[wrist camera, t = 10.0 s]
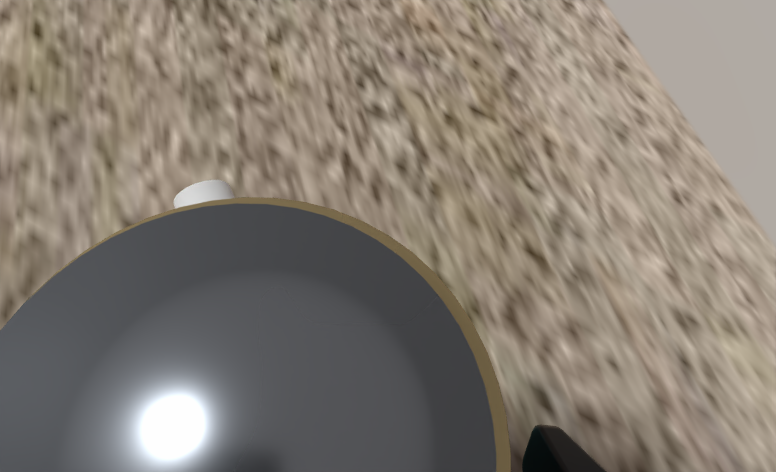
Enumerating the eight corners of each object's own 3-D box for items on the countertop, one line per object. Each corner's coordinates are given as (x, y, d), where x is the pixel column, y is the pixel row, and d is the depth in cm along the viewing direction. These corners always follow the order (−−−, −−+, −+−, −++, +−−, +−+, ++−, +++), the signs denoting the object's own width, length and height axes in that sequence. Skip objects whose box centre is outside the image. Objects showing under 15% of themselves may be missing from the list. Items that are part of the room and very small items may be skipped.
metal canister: (288, 557, 14) (143, 1159, 2) (192, 433, 15) (-265, 436, 3) (401, 439, 16) (645, 459, 4) (307, 332, 17) (280, 88, 5)
